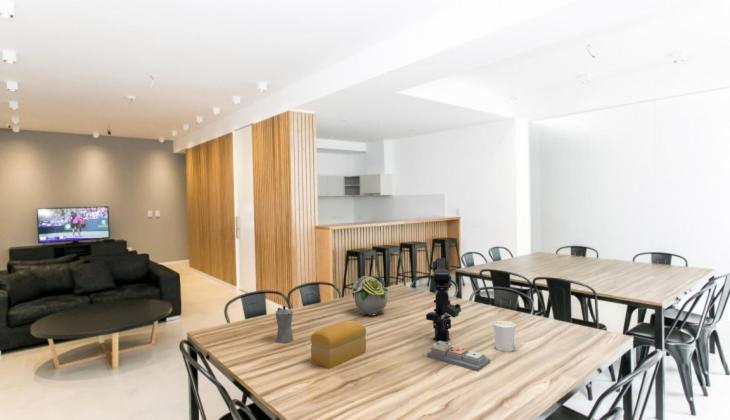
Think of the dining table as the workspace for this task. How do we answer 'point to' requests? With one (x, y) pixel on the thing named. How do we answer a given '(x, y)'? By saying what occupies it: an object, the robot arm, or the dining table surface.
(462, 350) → the tile three dots
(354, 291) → the flower arrangement
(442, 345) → the tile two dots
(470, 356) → the tile one dot
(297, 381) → the dining table surface
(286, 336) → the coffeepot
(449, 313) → the robot arm
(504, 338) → the candle holder
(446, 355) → the button board
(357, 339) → the bread
